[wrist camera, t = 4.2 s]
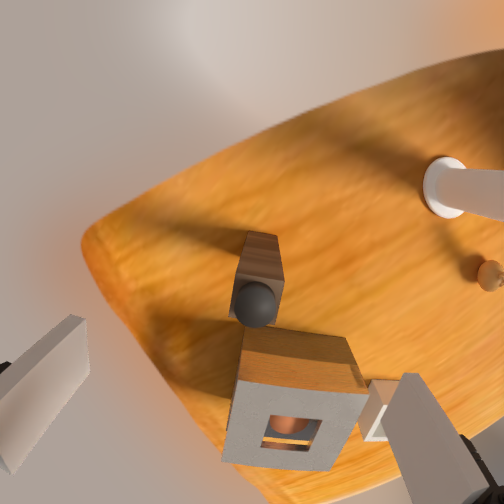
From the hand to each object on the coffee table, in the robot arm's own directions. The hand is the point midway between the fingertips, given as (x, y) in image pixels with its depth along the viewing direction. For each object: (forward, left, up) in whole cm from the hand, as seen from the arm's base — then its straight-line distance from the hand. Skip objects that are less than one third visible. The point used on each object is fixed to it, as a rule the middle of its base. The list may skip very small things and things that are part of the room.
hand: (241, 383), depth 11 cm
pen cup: (+18, +21, -23) cm, 36 cm away
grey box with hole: (+15, +6, -23) cm, 28 cm away
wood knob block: (0, 0, -23) cm, 23 cm away
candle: (-11, +20, -23) cm, 33 cm away
